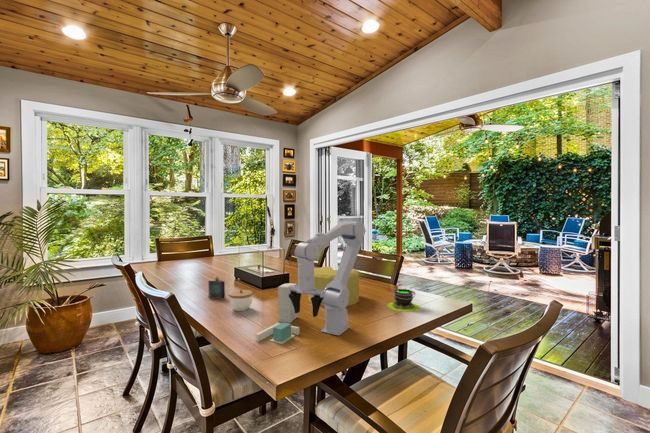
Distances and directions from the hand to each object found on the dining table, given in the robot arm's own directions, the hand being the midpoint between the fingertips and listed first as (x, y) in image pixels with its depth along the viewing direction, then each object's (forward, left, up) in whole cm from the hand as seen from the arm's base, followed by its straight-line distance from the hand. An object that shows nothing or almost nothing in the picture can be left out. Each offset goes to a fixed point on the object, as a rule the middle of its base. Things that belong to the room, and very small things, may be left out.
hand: (306, 314), depth 115 cm
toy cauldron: (-57, +19, -10) cm, 61 cm away
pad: (+2, -9, -10) cm, 14 cm away
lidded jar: (-15, -46, -10) cm, 49 cm away
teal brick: (+2, -9, -10) cm, 13 cm away
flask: (-23, -71, -10) cm, 75 cm away
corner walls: (+2, -11, -10) cm, 15 cm away
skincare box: (-15, -19, -10) cm, 26 cm away
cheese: (-51, -16, -10) cm, 54 cm away
